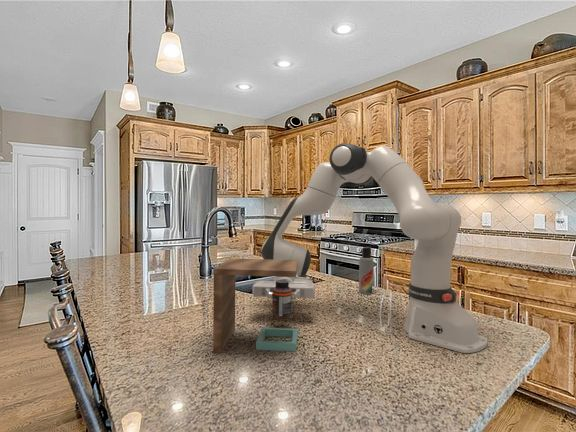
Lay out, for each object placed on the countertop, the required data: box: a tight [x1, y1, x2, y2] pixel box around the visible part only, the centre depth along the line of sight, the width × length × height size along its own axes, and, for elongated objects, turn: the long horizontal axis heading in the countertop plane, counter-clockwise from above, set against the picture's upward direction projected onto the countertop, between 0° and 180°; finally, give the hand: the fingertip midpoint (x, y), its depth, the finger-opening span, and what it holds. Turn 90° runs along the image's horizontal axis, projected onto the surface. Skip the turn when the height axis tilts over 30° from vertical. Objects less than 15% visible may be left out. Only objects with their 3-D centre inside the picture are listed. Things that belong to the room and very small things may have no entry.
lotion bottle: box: [358, 246, 374, 295], centre depth 145 cm, size 6×6×20 cm
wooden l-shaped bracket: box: [212, 257, 298, 354], centre depth 93 cm, size 21×16×22 cm
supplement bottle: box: [271, 280, 293, 321], centre depth 104 cm, size 6×6×11 cm
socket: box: [255, 326, 299, 352], centre depth 93 cm, size 10×10×2 cm
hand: (281, 296), depth 103 cm, fingers closed on supplement bottle, 6 cm apart
